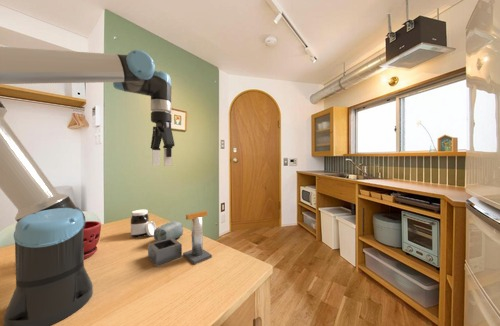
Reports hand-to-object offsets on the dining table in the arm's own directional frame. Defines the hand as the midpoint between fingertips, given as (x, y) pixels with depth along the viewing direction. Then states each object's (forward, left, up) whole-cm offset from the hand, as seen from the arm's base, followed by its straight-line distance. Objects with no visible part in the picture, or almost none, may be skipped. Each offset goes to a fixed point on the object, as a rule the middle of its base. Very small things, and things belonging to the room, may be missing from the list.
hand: (161, 165), depth 76 cm
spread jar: (0, +24, -35) cm, 42 cm away
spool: (+6, +8, -35) cm, 36 cm away
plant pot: (-24, +18, -35) cm, 46 cm away
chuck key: (+8, -14, -34) cm, 37 cm away
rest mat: (+8, -14, -34) cm, 38 cm away
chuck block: (-1, -6, -34) cm, 35 cm away
